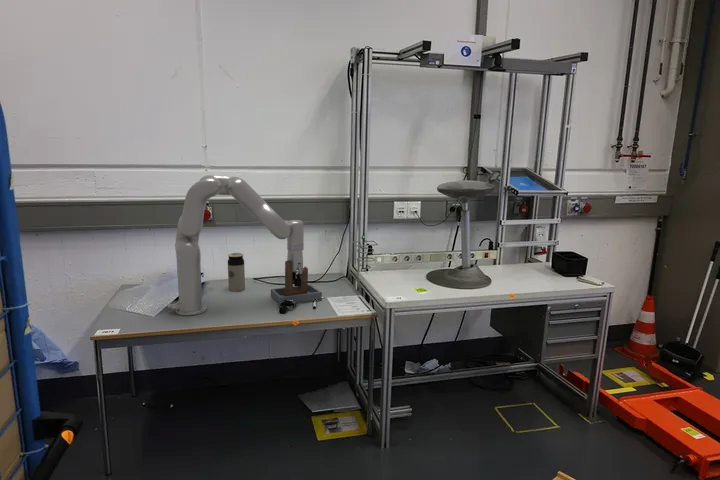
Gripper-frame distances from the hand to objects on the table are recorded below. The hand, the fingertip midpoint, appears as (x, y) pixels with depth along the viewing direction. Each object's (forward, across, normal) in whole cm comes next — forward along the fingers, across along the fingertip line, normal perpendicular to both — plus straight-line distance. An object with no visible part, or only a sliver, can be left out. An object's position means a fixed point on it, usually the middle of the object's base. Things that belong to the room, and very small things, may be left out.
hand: (295, 284), depth 227 cm
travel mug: (+8, -26, -22) cm, 35 cm away
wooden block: (+7, 0, 0) cm, 7 cm away
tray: (+7, 0, 0) cm, 7 cm away
